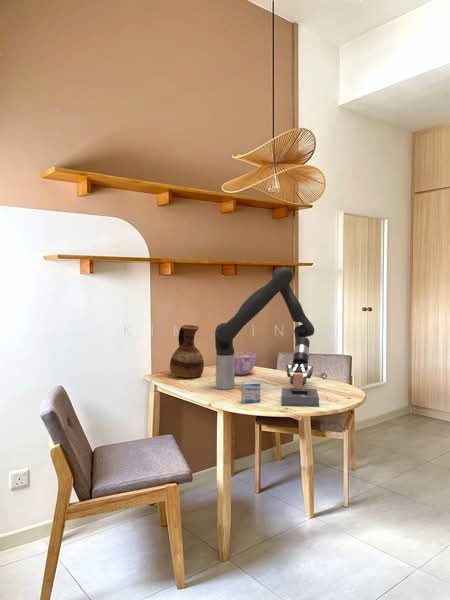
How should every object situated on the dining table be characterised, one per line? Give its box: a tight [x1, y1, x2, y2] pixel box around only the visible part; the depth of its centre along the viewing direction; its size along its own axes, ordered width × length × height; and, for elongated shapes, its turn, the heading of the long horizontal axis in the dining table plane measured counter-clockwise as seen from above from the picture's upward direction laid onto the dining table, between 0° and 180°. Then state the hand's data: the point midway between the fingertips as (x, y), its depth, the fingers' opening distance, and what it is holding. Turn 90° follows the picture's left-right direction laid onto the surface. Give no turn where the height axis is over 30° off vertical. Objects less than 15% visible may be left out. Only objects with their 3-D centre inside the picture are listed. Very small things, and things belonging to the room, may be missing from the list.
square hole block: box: [281, 387, 320, 408], centre depth 205 cm, size 16×16×4 cm
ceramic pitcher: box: [169, 324, 205, 379], centre depth 261 cm, size 20×20×30 cm
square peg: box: [292, 373, 304, 389], centre depth 220 cm, size 4×4×9 cm
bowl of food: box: [234, 351, 257, 376], centre depth 267 cm, size 20×20×12 cm
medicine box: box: [240, 381, 261, 404], centre depth 204 cm, size 8×4×9 cm, turn 105°
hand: (297, 383), depth 219 cm, fingers closed on square peg, 5 cm apart
